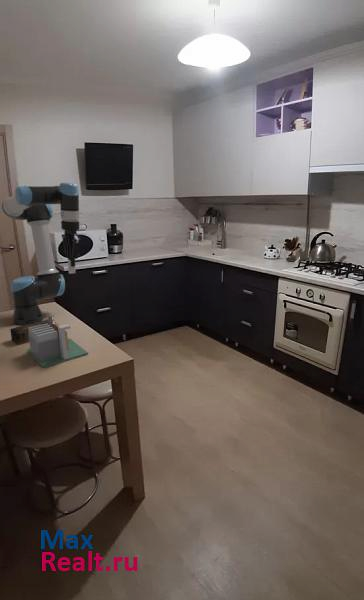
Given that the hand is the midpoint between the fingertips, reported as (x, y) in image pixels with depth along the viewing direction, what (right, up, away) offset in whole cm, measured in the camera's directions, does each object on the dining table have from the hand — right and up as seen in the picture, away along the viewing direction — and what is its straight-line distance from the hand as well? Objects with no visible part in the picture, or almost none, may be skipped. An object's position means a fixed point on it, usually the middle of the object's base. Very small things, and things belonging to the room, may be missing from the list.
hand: (72, 272), depth 162 cm
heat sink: (-3, -35, -9) cm, 36 cm away
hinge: (-2, -33, -9) cm, 35 cm away
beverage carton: (-20, -30, +8) cm, 37 cm away
